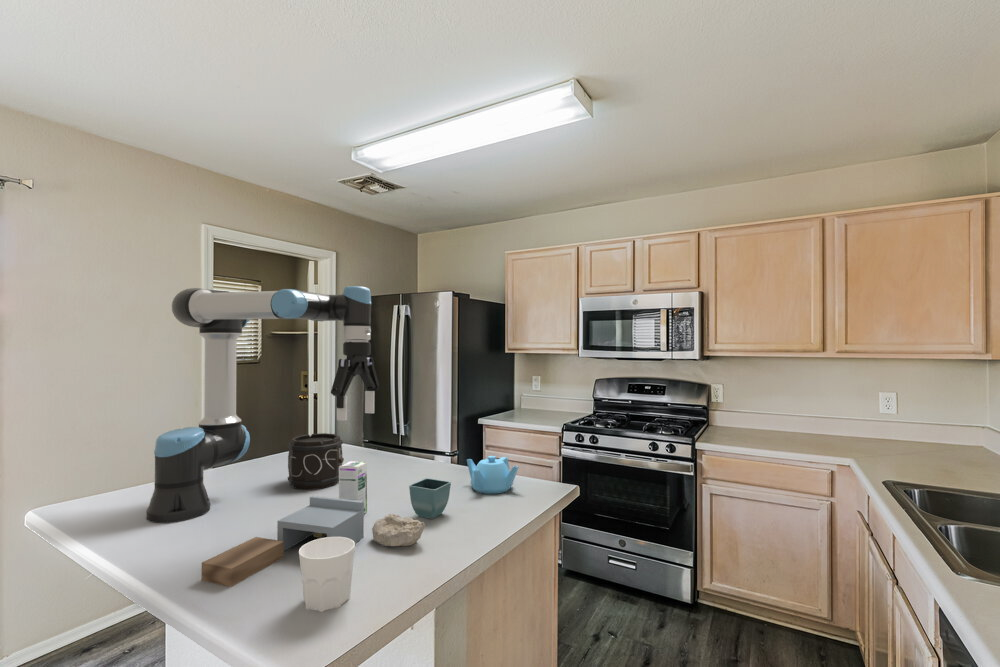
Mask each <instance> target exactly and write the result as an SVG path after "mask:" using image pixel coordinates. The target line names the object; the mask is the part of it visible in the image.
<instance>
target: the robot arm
mask: <svg viewBox="0 0 1000 667" xmlns="http://www.w3.org/2000/svg"><path fill="white" fill-rule="evenodd" d="M371 293H372V292H371V290H370V288H369V287H366V286H357V285H356V286H354V285H351V286H344V287H343V292H342V294H325V293H324V294H323V293H318V292H310V291H303V290H298V289H295V288H294V289H293V288H283V289H279V290H271V291H270V290H267V291H266V290H264V291H263V290H262V291H258V290H257V291H233V292H232V291H231V292H230V291H229V290H228V291H227V290H214V289H205V288H199V287H191V288H186V289H183V290H181V291H179V292H178V293H177V294H176V295H175V296H174V297H173V300H172V303H171V312H172V314H173V316H174V318H175V319H176V320H177V321H178V322H179V323H181V324H183V325H185V326H187V327H192V328H199V332H198V333H199V335H200V336H201V338H203V339H204V416H203V418H202V419H201V420H200V421H199V422H198V426H189V427H184V428H177V429H173V430H169V431H166V432H164V433H162V434H160V435H159V436H158V437H157V438H156V440H155V447H154V451H153V452H154V454H153V455H154V489H153V493H152V495H151V499H150V502H149V505H148V507H147V509H146V514H145V515H146V521H148V522H151V523H155V524H156V523H159V524H163V523H164V524H165V523H174V522H176V523H177V522H181V521H186V520H190V519H194V518H197V517H199V516H203V515H205V514H206V513H208V512H209V511H210V510H211V500H210V497H209V496H208V492H207V489H206V487H205V484H204V471H205V470H209V469H212V468H215V467H219V466H222V465H228V464H231V463H233V462H234V461H238V460H240V459H241V458H242V457H244V455H245V454H246V453H247V451H248V449H249V447H250V444H251V443H250V442H251V437H250V433H249V431H248V430H247V427H246V426H245V425H243V424H242V419H241V418H240V417H239V416H238V414H237V350H238V349H237V343H238V342H237V340H238V339H239V337H241V336H242V335H243V328H244V327H246V326H247V325H248V323H249V322H250V321H251V320H278V319H279V320H307V321H308V320H310V321H313V322H314V321H315V322H329V321H330V322H333V321H334V322H335V321H341V322H342V323H343V328H342V329H343V330H342V339H343V341H344V342H343V343H342V353H343V355H344V356H346V358H339V359H338V366H337V371H336V372H335V373H336V374H335V377H334V380H333V383H332V386H331V390H330V394H331V395H332V396H333V397H334V396H335V397H336V400H335V401H336V406H335V407H336V421H343V422H344V421H348V395H346V394H347V392H348V390H349V387H350V385H351V384H352V381H353V379H354V377H356V376H357V375H359V376H360V378H361V380H362V383H363V384H364V386H365V388H366V390H365V391H364V414H375V401H376V400H375V399H376V398H375V396H376V394H375V393H376V392H377V391H379V388H380V383H379V378H378V376H377V371H376V367H375V362H374V359H375V358H374V357H368V356H370V355H371V352H372V351H371V350H372V347H371V346H372V345H371V344H372V343H371V342H370V340H371V336H372V334H371V333H372V328H371V325H372V324H371V321H372V319H371V314H372V295H371Z"/></svg>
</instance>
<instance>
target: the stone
mask: <svg viewBox="0 0 1000 667" xmlns="http://www.w3.org/2000/svg"><path fill="white" fill-rule="evenodd" d="M425 526H426V524H425V522H424V521H420V520H418V519H413V518H412V517H402V516H400V515H399V514H394V513H389V514H387V515H385V516H384V517H383V518H380V519H377V520H376V521H375V522H374V523H373V525H372V528H371V531H372V537H373V540H374V542H376V543H378V544H379V545H382V546H383V547H388V546H390V547H398V546H399V547H400V546H406V547H410V546H412V545H415V544H416V543H417V542H418V541H419V540H420V539H421V536H422V534H423V532H424V529H425Z"/></svg>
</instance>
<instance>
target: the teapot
mask: <svg viewBox="0 0 1000 667" xmlns="http://www.w3.org/2000/svg"><path fill="white" fill-rule="evenodd" d="M466 463H467V467H468V472H469V476H470V486H471V487H472V488H473V490H475V491H476V492H478V493H480V494H489V495H491V494H493V495H494V494H502V493H505V492H508V490H510V488H511V487H512V486H513V483H514V481H515V478H516V475H517V473H518V469H519V466H518V465H517V466H516V465H513V466H512V468H511V469H510V464H509V459H508V457H507V456H501V457H500V458H497V456H496V455H488V456H487V458H486V459H481V460H480V461H479V462H478V463H477V465H476V464H475V463H474V461H473V459H471V458H468V459H466Z"/></svg>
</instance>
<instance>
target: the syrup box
mask: <svg viewBox="0 0 1000 667" xmlns="http://www.w3.org/2000/svg"><path fill="white" fill-rule="evenodd" d="M367 469H368V468H367V462H366V461H360V460H359V461H358V460H357V461H355V460H354V461H350V460H349V461H348V462H347V463H346V462H345V463H344V464H342V466H339V482H338V499H348V500H357V501H364V515H365V514H366V513H368V486H367V485H368V484H367V483H368V481H367V480H368V477H367V476H368V474H367V471H368V470H367Z"/></svg>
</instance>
